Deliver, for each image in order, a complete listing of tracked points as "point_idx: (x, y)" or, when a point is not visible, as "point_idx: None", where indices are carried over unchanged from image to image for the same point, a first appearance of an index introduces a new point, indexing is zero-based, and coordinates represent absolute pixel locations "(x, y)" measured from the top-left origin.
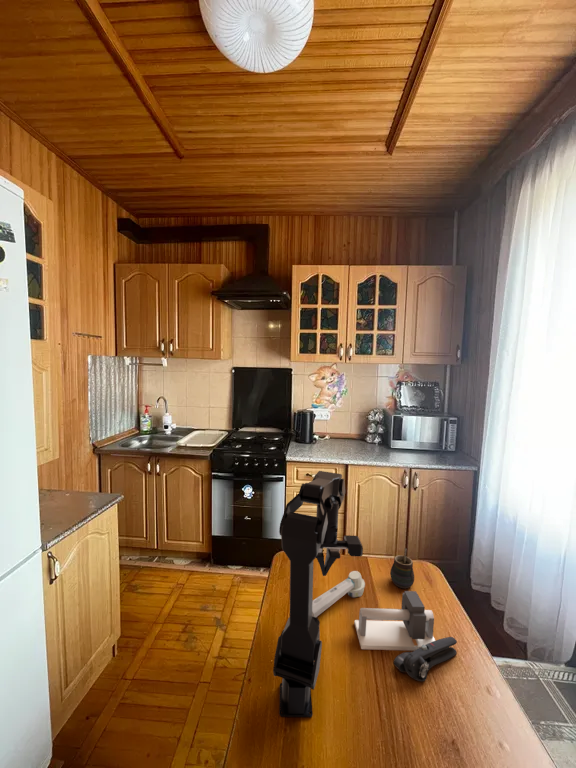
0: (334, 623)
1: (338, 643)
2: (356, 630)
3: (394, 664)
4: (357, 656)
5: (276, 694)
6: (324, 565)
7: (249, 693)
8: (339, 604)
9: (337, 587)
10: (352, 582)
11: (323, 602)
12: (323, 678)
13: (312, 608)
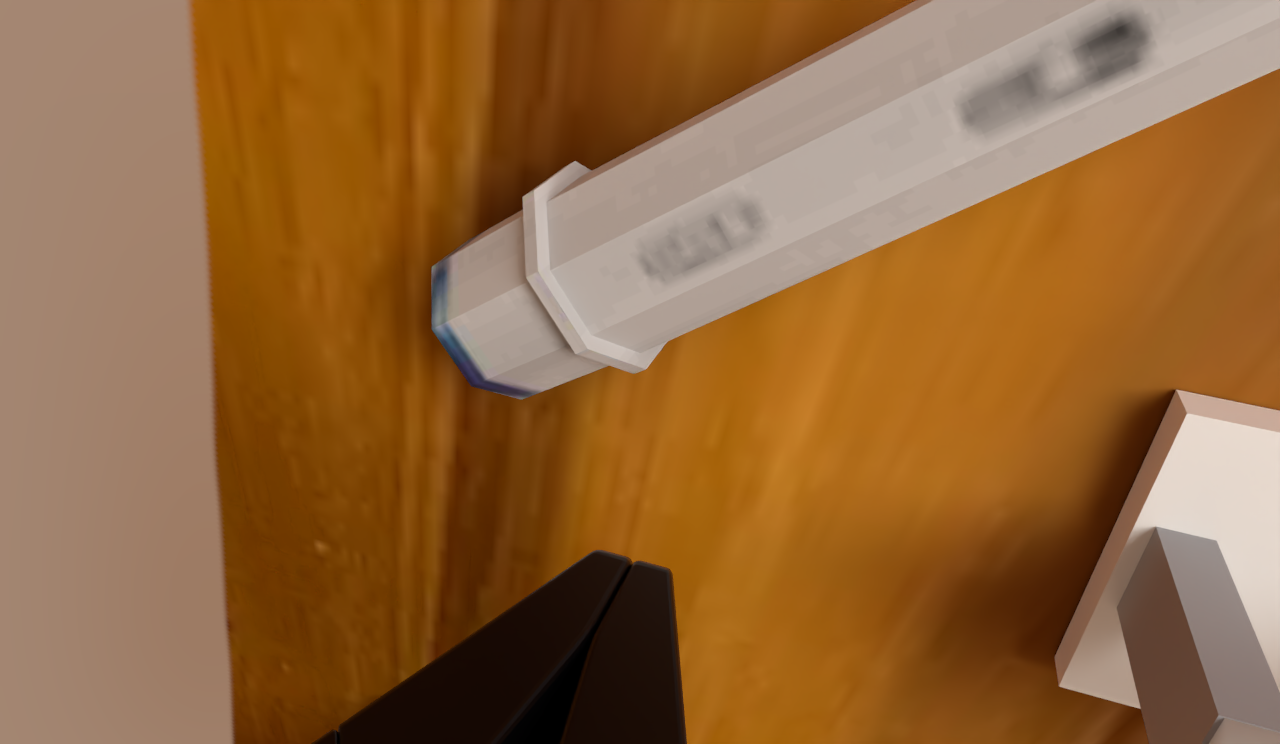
0: (915, 340)
1: (857, 556)
2: (1133, 487)
3: None
4: (976, 694)
5: None
6: (570, 705)
7: (238, 676)
8: None
9: (1179, 16)
10: None
11: (787, 265)
12: None
13: (611, 337)
